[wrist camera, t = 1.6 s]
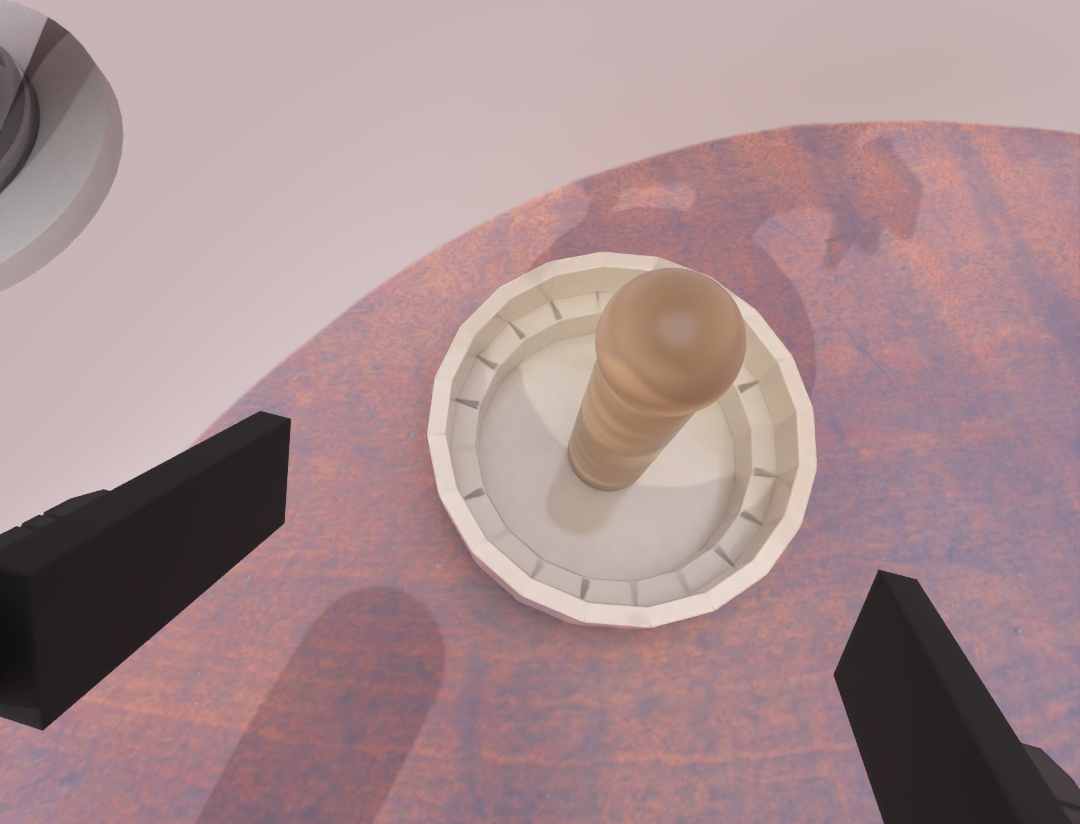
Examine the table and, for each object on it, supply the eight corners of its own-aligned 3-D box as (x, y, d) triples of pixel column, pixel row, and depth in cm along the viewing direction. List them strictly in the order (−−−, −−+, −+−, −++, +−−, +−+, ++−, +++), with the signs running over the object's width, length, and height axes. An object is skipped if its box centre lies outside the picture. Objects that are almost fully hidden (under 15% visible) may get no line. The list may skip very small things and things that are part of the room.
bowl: (420, 612, 31) (403, 608, 25) (460, 294, 36) (453, 237, 31) (774, 640, 31) (828, 642, 26) (762, 321, 36) (805, 269, 31)
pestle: (558, 493, 32) (603, 378, 18) (564, 404, 34) (609, 230, 19) (652, 501, 32) (773, 393, 18) (654, 412, 34) (767, 245, 19)
